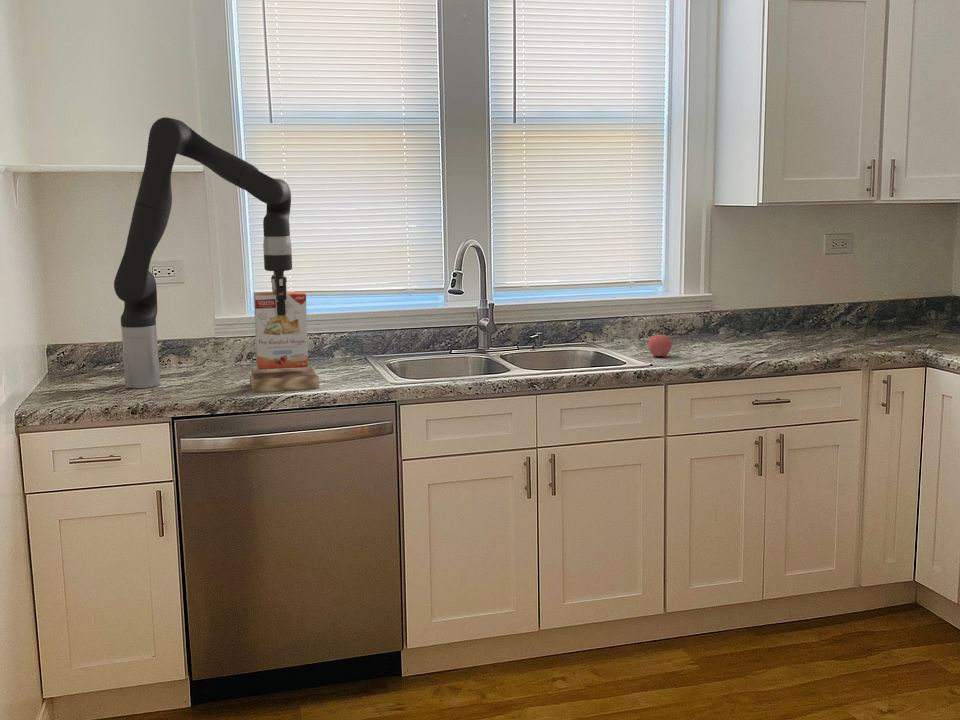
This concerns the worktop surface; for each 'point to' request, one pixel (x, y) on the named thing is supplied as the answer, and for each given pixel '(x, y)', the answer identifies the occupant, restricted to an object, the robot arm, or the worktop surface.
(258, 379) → the podium
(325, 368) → the worktop surface
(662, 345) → the apple
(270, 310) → the cracker box
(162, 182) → the robot arm
